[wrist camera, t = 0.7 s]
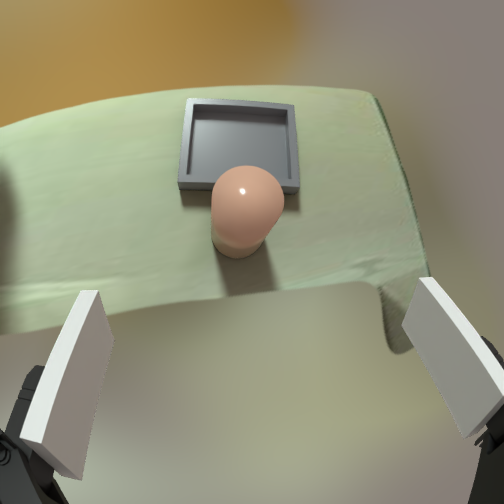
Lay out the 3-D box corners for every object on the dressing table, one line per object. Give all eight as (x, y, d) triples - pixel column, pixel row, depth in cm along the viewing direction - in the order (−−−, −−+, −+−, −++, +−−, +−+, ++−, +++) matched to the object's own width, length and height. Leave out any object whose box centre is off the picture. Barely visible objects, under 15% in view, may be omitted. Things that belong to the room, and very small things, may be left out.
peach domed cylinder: (200, 231, 39) (196, 196, 27) (237, 198, 40) (248, 153, 29) (236, 269, 39) (248, 248, 27) (273, 234, 40) (298, 200, 28)
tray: (179, 189, 40) (177, 181, 37) (187, 108, 42) (187, 98, 40) (294, 194, 42) (299, 187, 39) (290, 114, 44) (293, 105, 42)
